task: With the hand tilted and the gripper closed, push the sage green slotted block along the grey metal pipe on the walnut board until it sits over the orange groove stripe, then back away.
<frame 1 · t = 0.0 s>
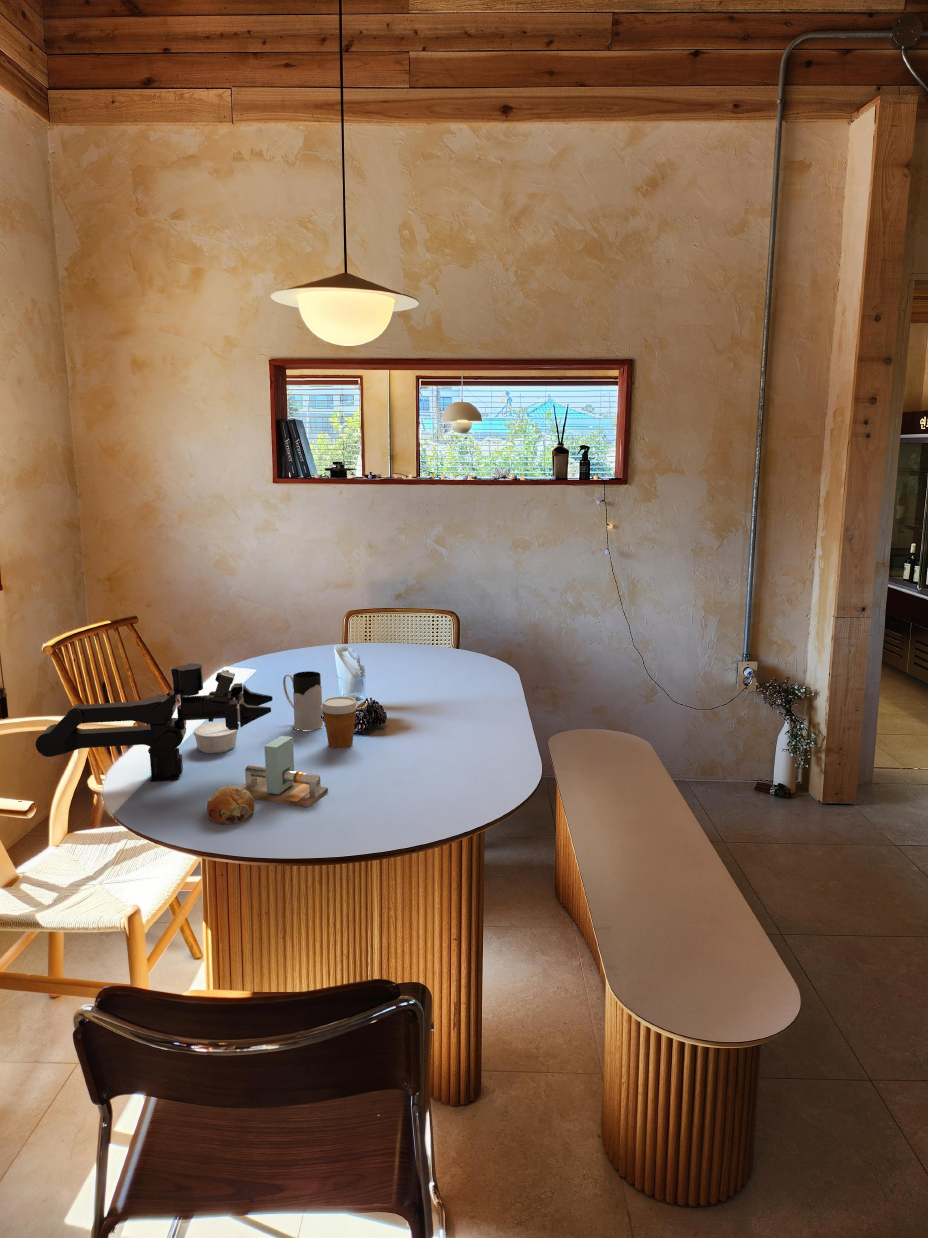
hand: (271, 703, 200), 17 cm above the table, tool horizontal, fingers open, 9 cm apart
bread roll: (230, 816, 178), on the table
grey metal pipe: (282, 780, 188), on the walnut board, point 3 cm above the table
ramekin: (217, 748, 218), on the table
walnut board: (275, 792, 189), on the table
disposable coffee cup: (340, 745, 220), on the table
sage green slotted block: (279, 764, 188), point 7 cm above the table, slide at 0.0 cm
black and white mug: (302, 724, 237), on the table
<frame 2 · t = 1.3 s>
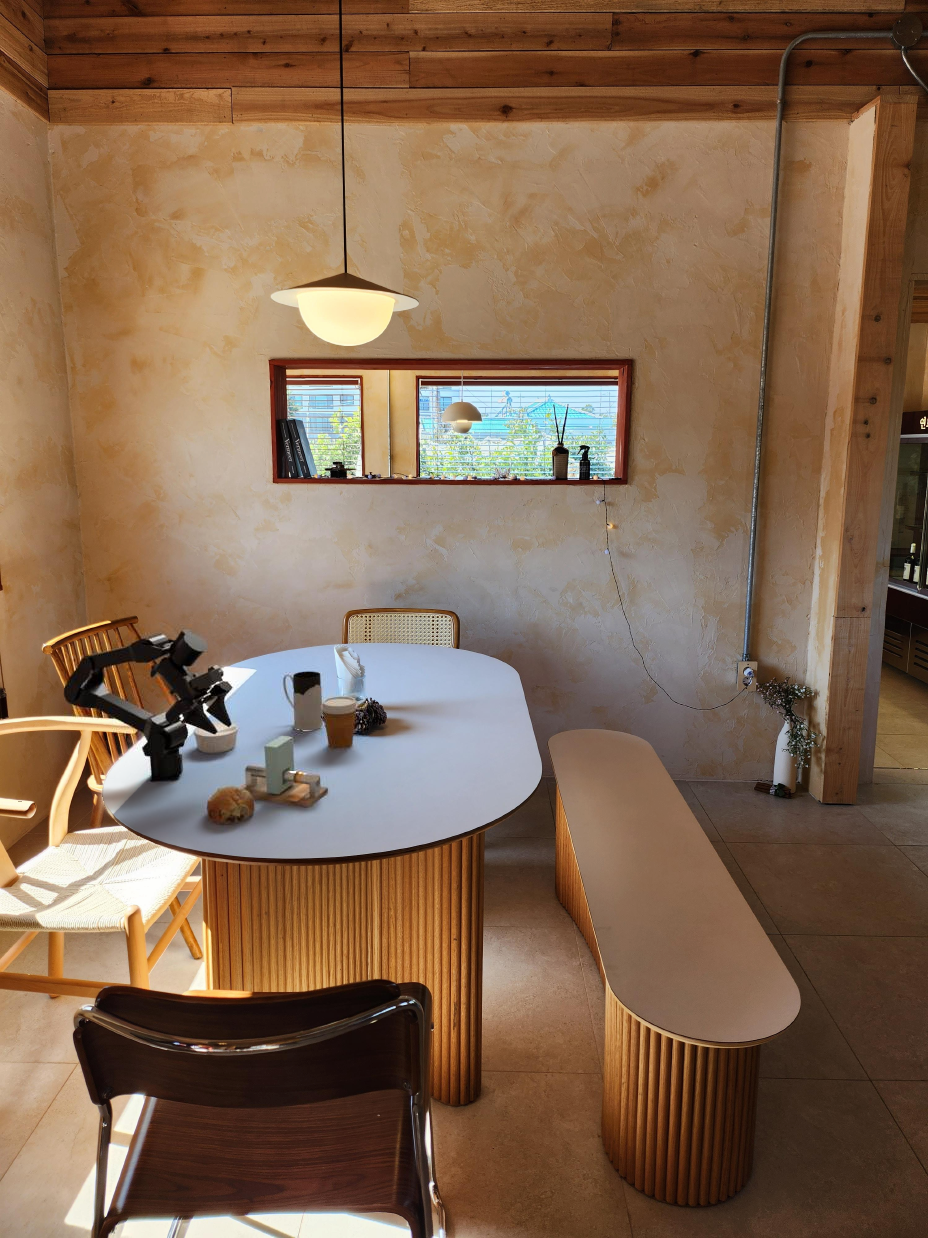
hand: (223, 729, 191), 14 cm above the table, tool tilted 45°, fingers open, 5 cm apart
nothing on the table moved.
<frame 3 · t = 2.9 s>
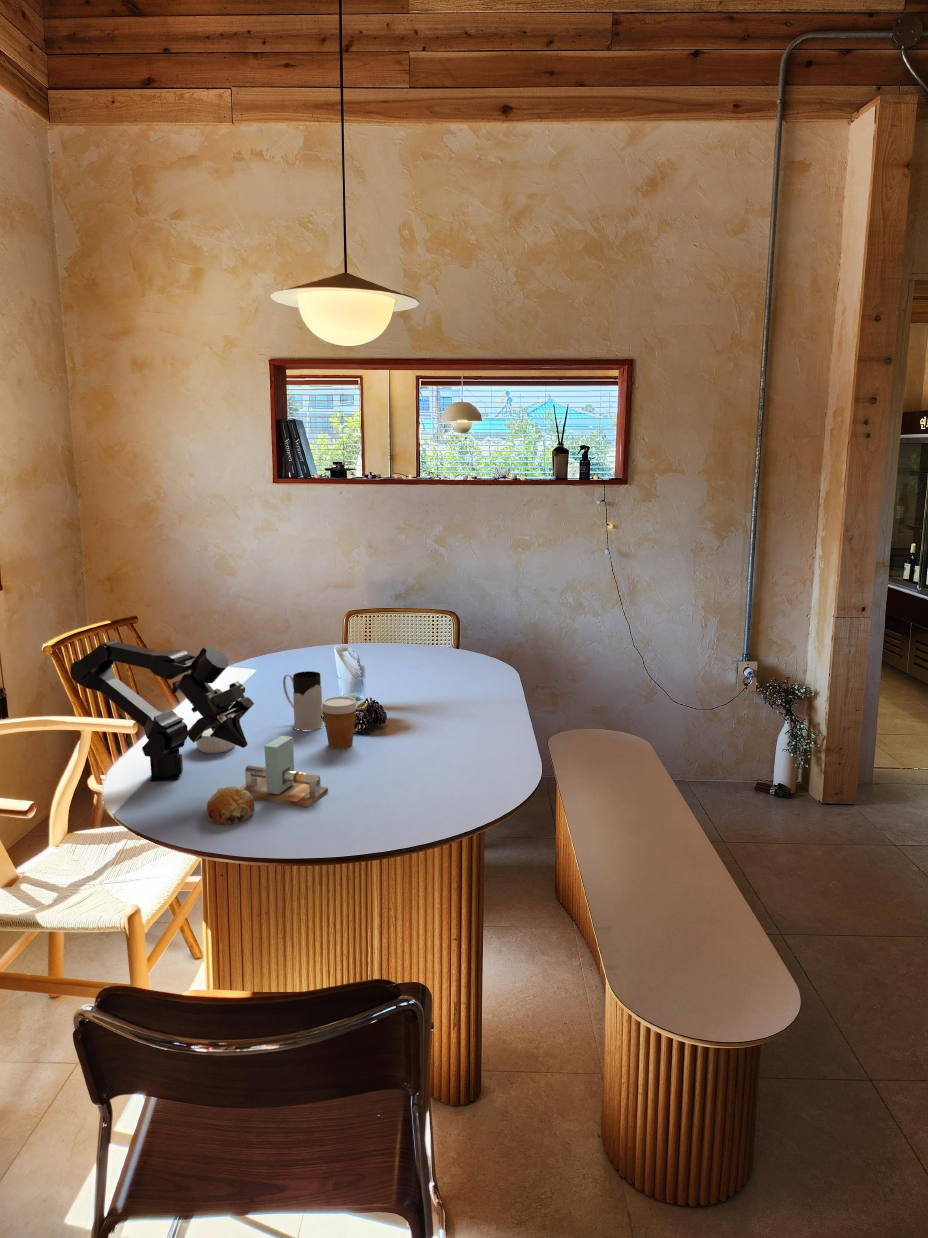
hand: (245, 746, 190), 10 cm above the table, tool tilted 45°, fingers closed
nothing on the table moved.
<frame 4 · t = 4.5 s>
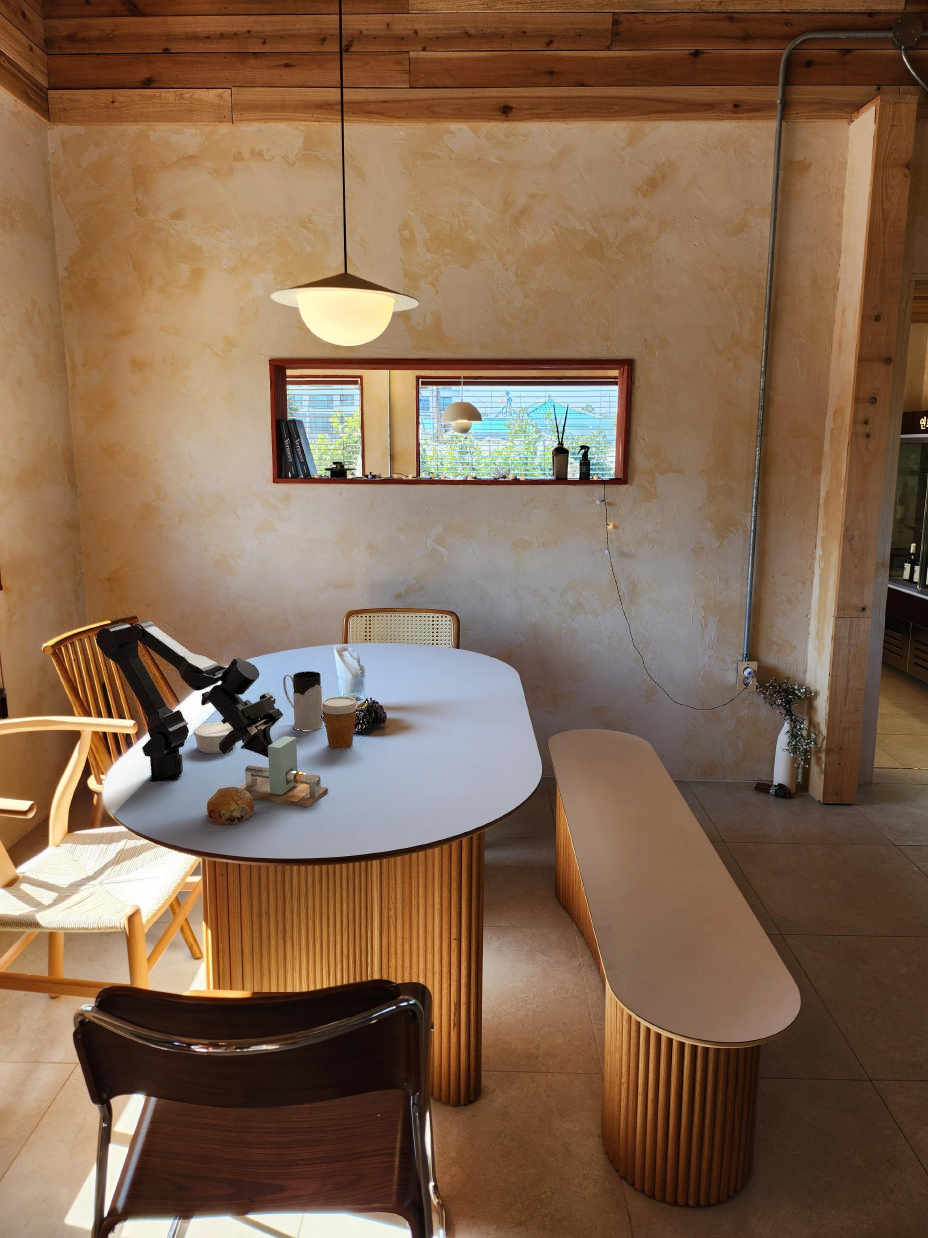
hand: (276, 758, 188), 8 cm above the table, tool tilted 45°, fingers closed, pressing on sage green slotted block
sage green slotted block: (283, 765, 187), point 7 cm above the table, slide at 0.9 cm, touching gripper
everything else where it was.
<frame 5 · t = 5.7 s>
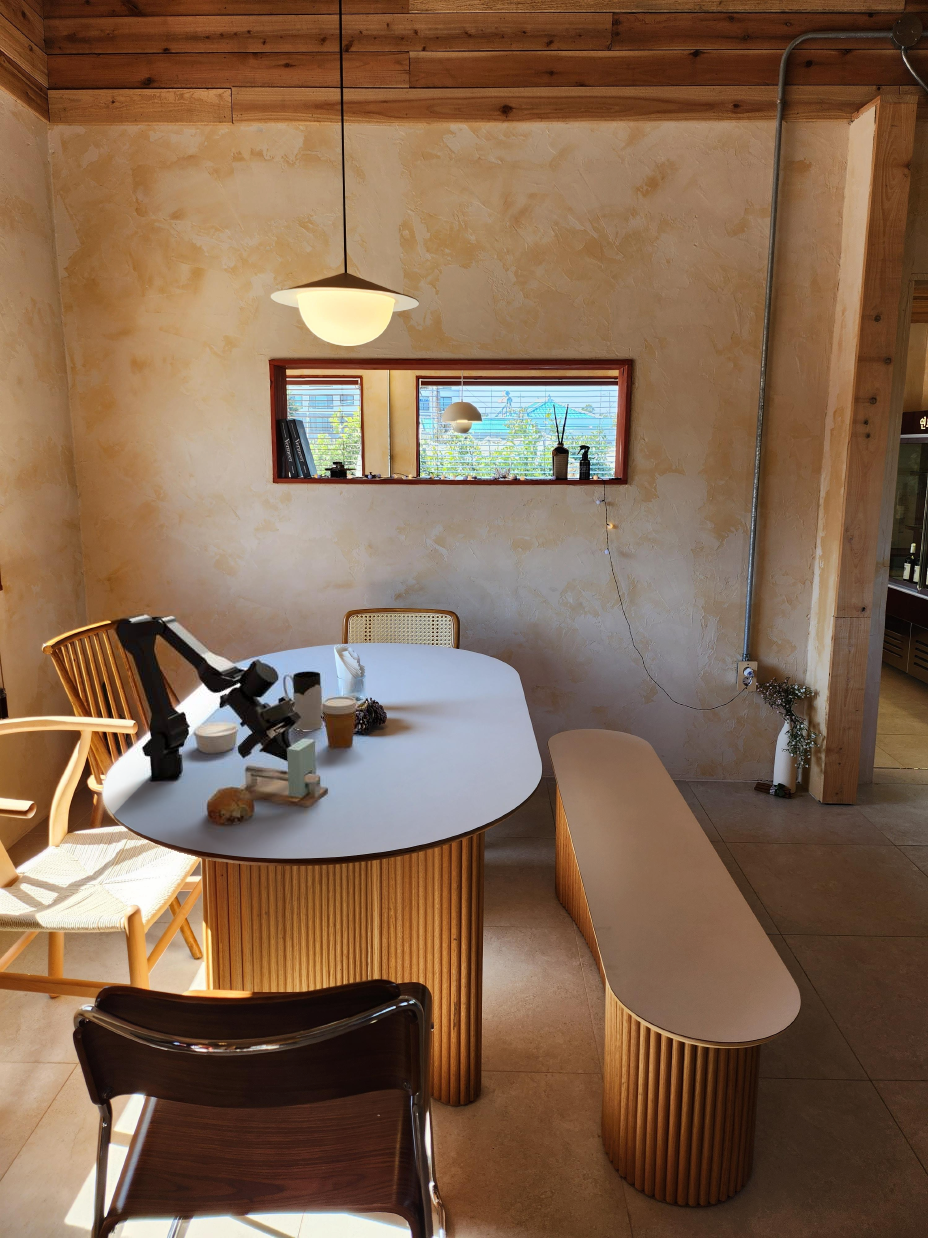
hand: (294, 762, 186), 8 cm above the table, tool tilted 45°, fingers closed
sage green slotted block: (302, 767, 186), point 7 cm above the table, slide at 5.7 cm
everything else where it was.
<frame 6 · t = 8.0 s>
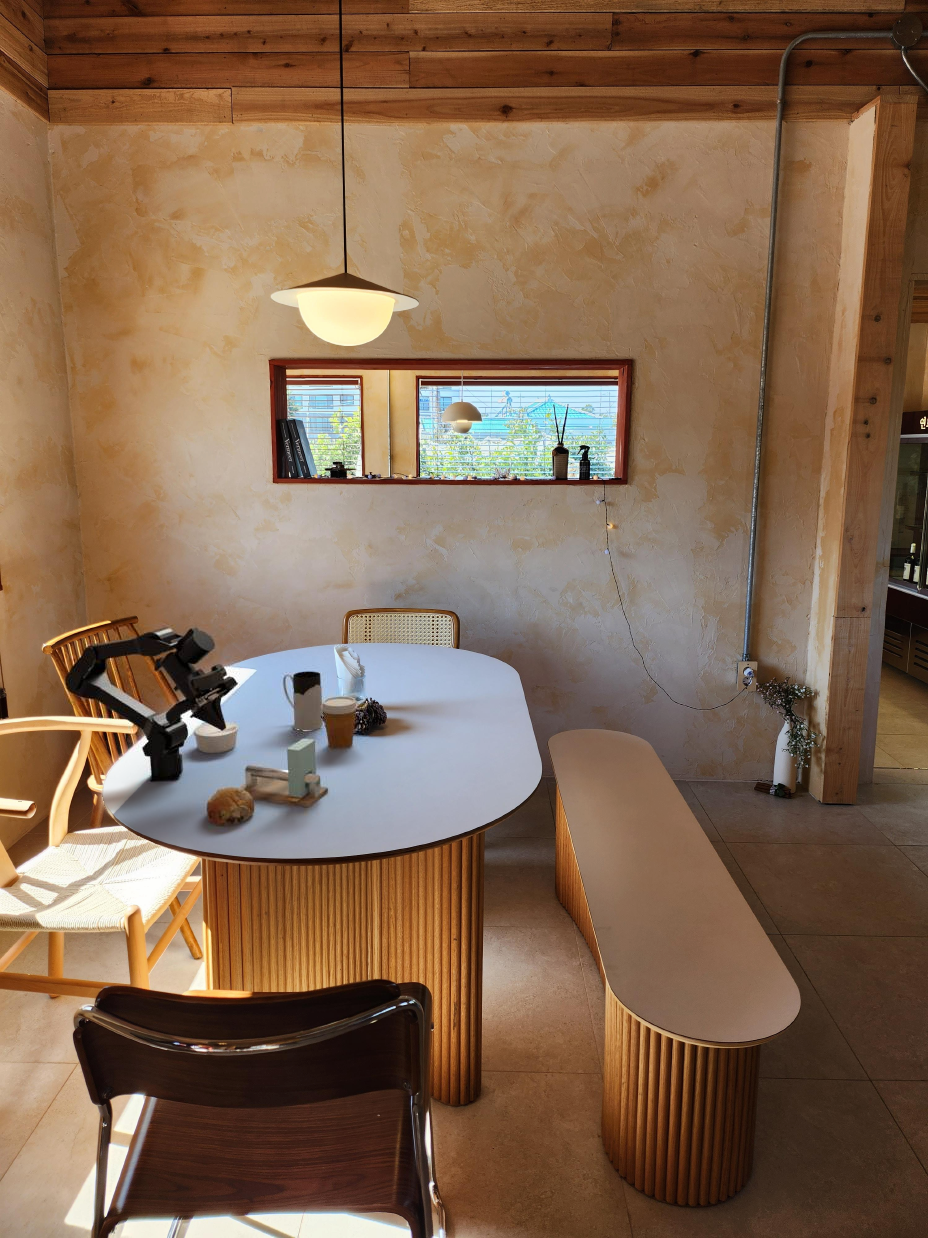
hand: (224, 729, 191), 14 cm above the table, tool tilted 40°, fingers closed
nothing on the table moved.
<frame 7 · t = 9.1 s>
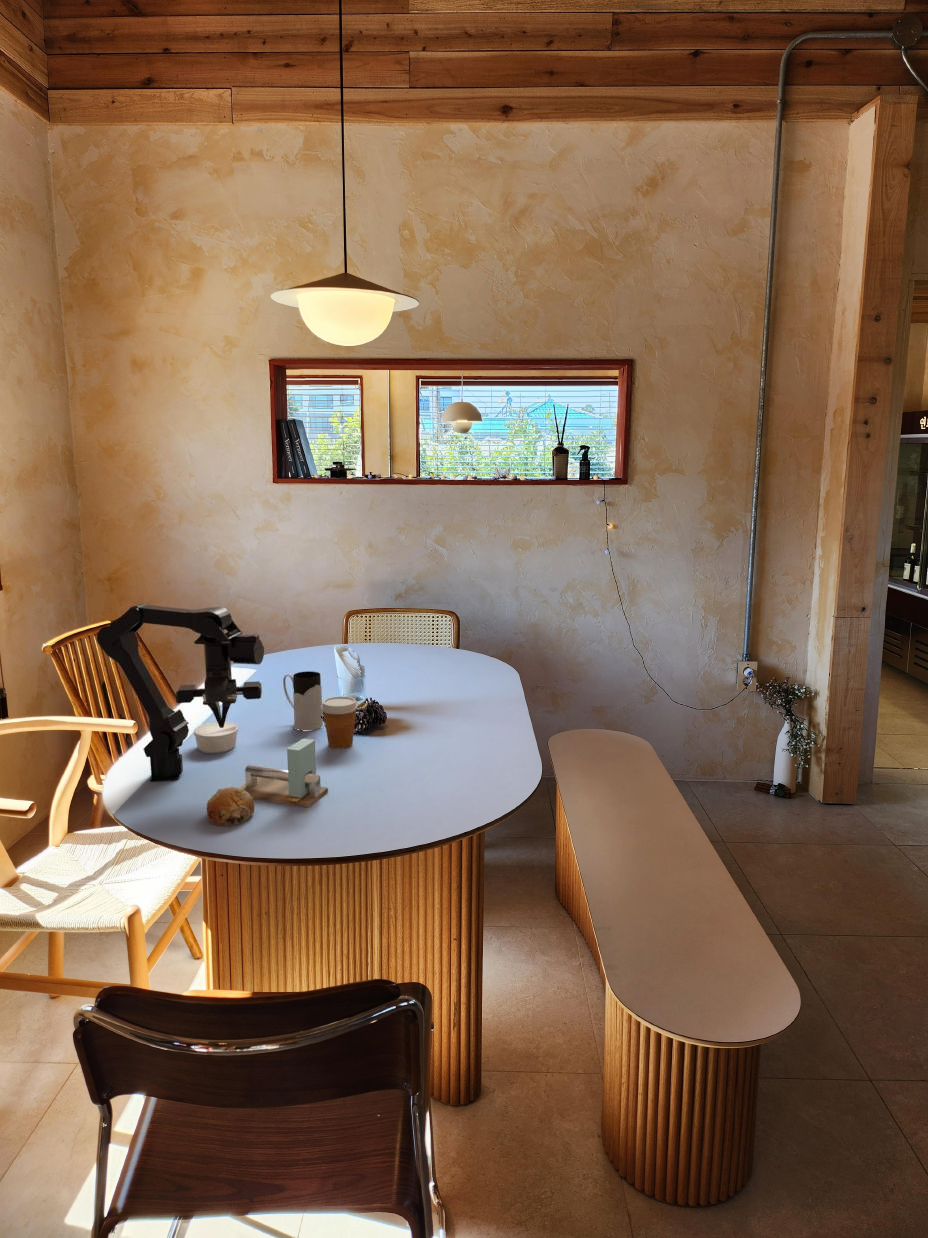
hand: (221, 727, 194), 13 cm above the table, tool pointing down, fingers closed
nothing on the table moved.
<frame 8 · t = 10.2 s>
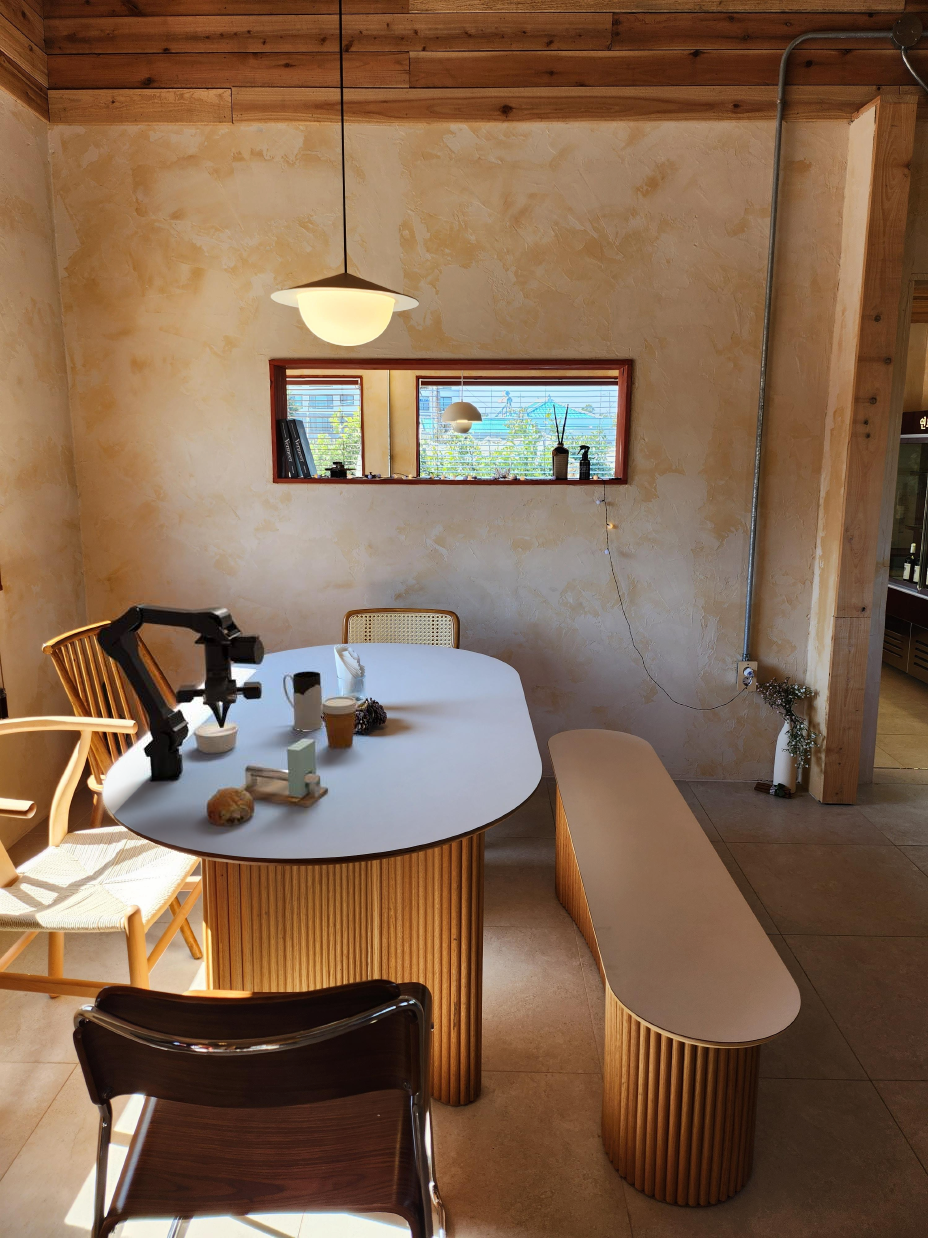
hand: (221, 727, 194), 13 cm above the table, tool pointing down, fingers closed
nothing on the table moved.
at the end: sage green slotted block slide at 5.7 cm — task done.
